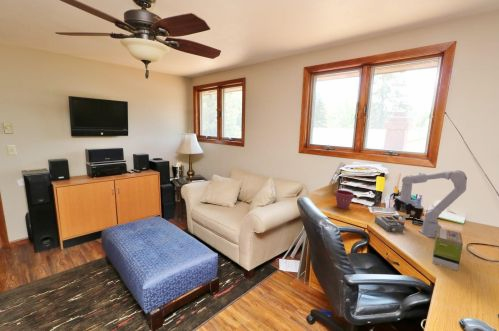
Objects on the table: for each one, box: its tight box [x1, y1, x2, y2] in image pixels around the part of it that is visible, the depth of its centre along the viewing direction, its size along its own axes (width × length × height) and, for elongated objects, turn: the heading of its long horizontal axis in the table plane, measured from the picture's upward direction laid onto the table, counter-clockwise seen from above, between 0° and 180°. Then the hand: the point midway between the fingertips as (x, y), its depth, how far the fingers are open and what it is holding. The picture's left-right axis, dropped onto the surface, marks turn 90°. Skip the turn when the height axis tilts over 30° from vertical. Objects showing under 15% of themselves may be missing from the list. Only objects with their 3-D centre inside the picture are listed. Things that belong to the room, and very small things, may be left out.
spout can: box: [397, 215, 406, 227], centre depth 160 cm, size 4×4×7 cm
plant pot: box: [334, 189, 355, 210], centre depth 193 cm, size 14×14×13 cm
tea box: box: [431, 227, 464, 272], centre depth 118 cm, size 15×10×15 cm
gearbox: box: [374, 215, 405, 233], centre depth 157 cm, size 18×10×6 cm, turn 179°
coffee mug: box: [404, 204, 425, 220], centre depth 174 cm, size 12×9×10 cm
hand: (402, 212), depth 159 cm, fingers open, 7 cm apart
